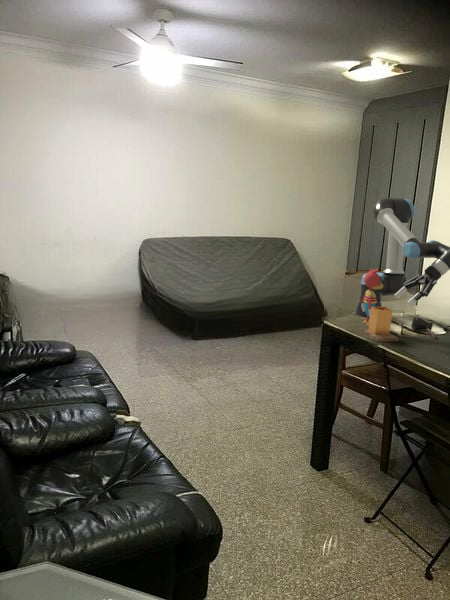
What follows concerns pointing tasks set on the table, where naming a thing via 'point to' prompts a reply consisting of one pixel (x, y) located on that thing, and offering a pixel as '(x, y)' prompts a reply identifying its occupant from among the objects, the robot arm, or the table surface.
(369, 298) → the toy
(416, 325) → the pink handled mallet
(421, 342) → the table surface
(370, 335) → the post
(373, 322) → the frame
